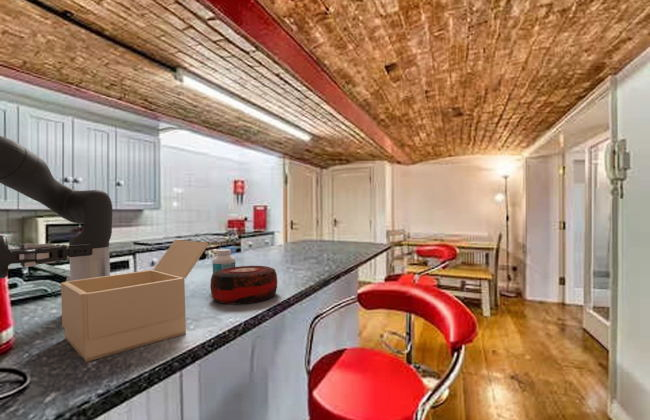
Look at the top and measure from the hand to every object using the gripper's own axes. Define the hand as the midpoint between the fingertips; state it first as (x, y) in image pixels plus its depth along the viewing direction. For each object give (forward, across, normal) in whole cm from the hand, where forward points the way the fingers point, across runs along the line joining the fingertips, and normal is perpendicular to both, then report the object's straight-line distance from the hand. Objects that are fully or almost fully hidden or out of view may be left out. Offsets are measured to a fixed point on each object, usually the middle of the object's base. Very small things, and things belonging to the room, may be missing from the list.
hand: (91, 249), depth 69 cm
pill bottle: (+43, +23, +19) cm, 52 cm away
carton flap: (+18, 0, +3) cm, 18 cm away
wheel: (+42, +9, +19) cm, 47 cm away
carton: (+6, 0, +19) cm, 20 cm away
